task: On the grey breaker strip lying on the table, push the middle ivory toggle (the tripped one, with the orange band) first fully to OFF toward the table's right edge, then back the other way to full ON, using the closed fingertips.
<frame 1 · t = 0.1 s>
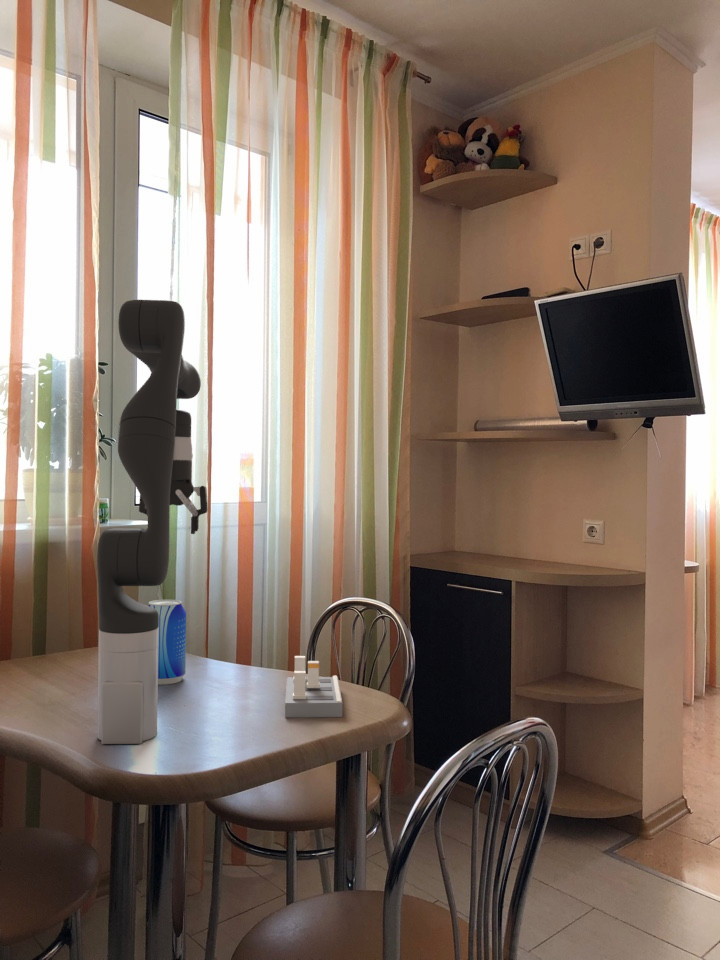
hand: (173, 533, 174), 29 cm above the table, fingers open, 8 cm apart
breaker panel: (312, 702, 150), on the table
breaker toggle: (313, 674, 150), point 5 cm above the table, slide at 2.5 cm
beer can: (164, 681, 165), on the table
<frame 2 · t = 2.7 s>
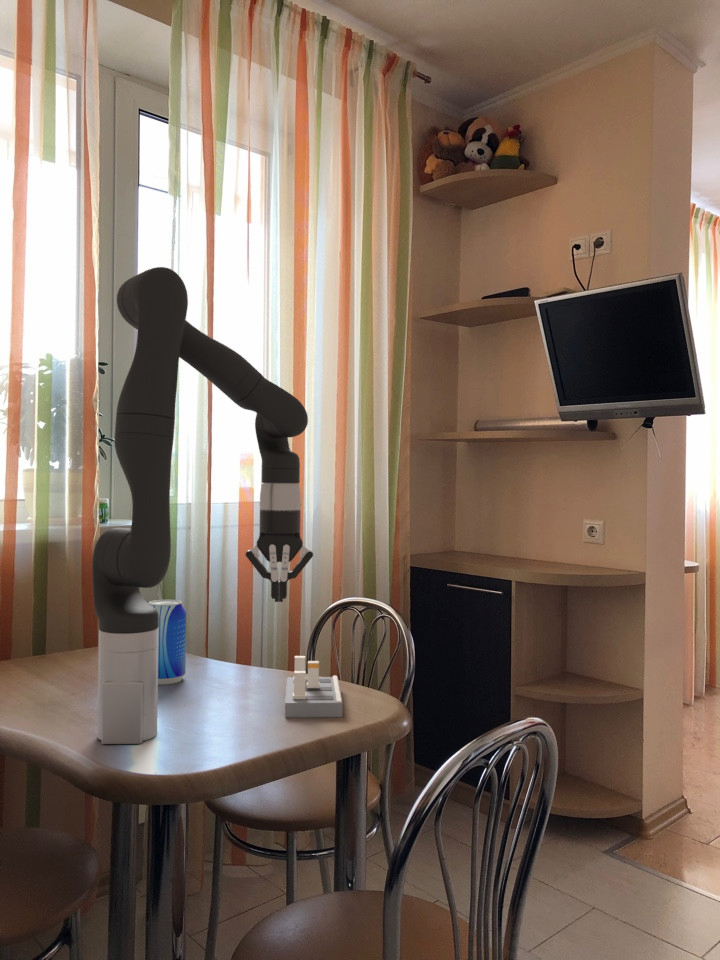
hand: (279, 601, 149), 19 cm above the table, fingers closed
nothing on the table moved.
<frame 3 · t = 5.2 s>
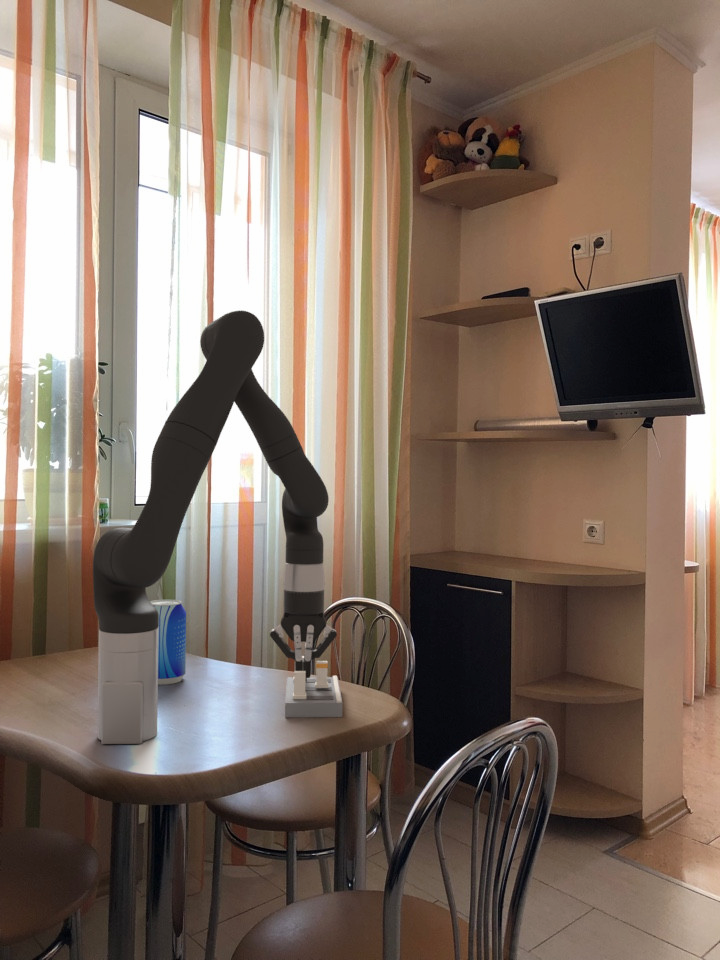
hand: (302, 680, 150), 4 cm above the table, fingers closed
breaker toggle: (321, 674, 150), point 5 cm above the table, slide at 0.9 cm, touching gripper
everything else where it was.
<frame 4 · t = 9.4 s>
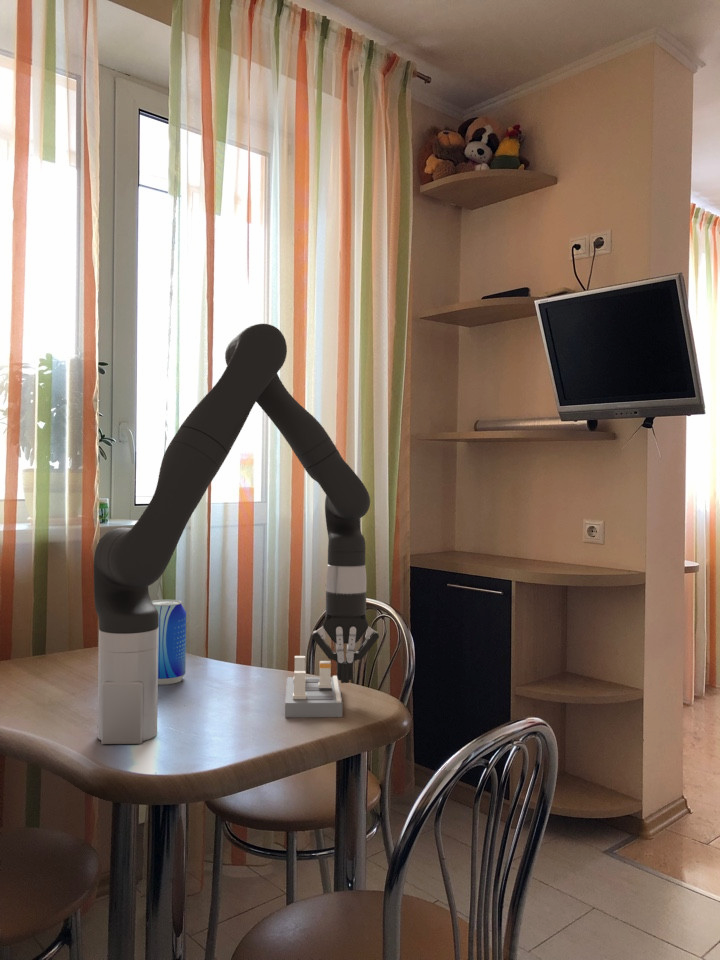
hand: (344, 682, 150), 4 cm above the table, fingers closed
breaker toggle: (325, 674, 150), point 5 cm above the table, slide at 0.3 cm, touching gripper
everything else where it was.
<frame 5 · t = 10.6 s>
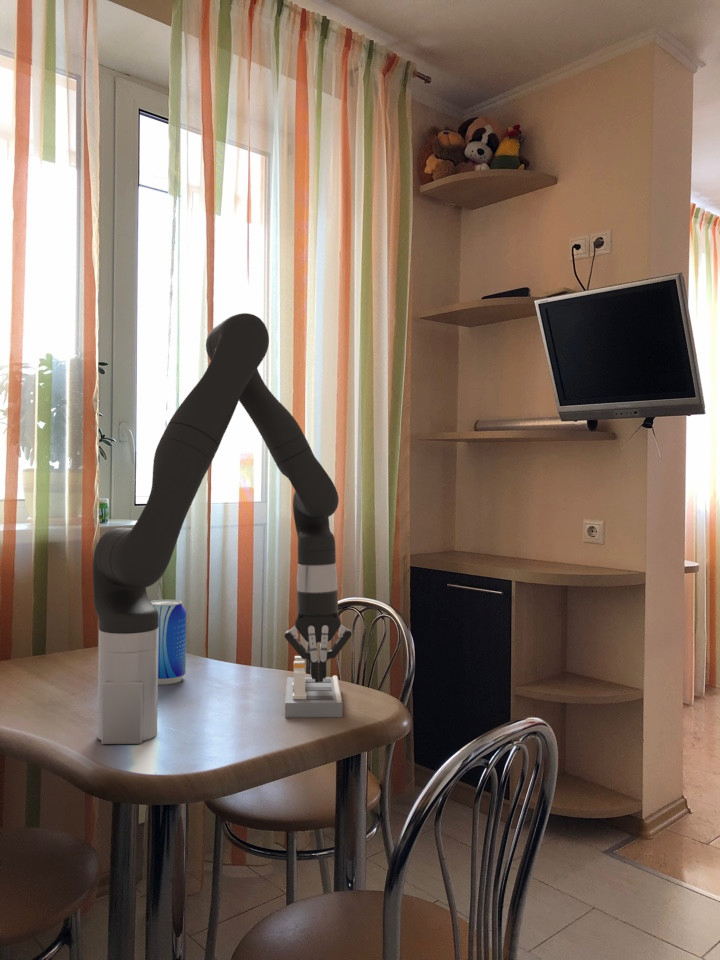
hand: (319, 680, 150), 4 cm above the table, fingers closed
breaker toggle: (299, 674, 150), point 5 cm above the table, slide at 5.1 cm, touching gripper
everything else where it was.
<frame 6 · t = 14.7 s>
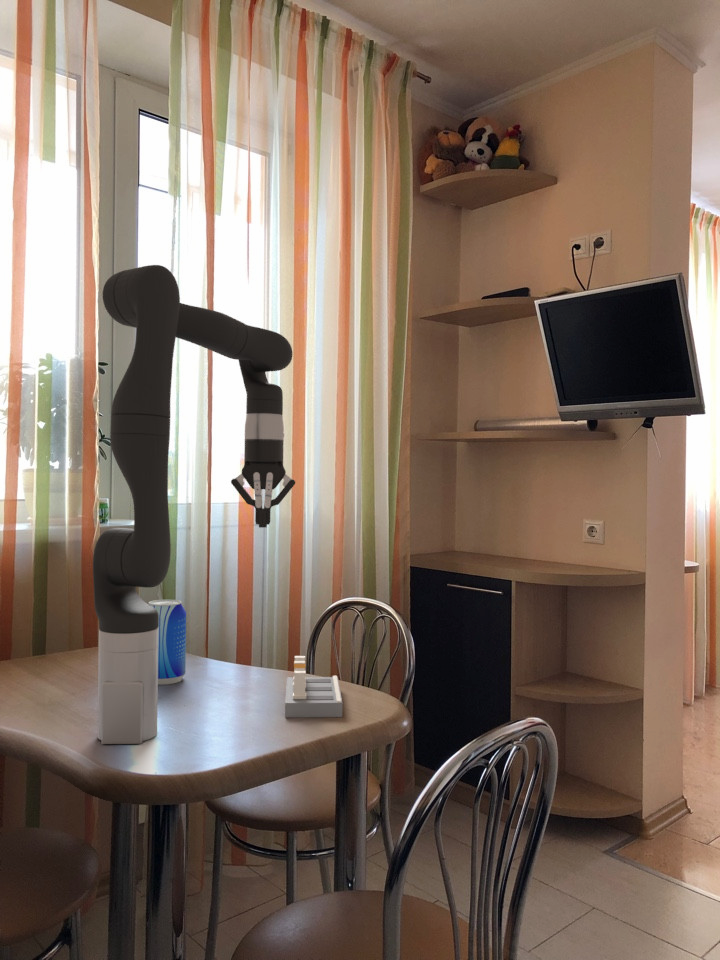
hand: (263, 527, 157), 32 cm above the table, fingers closed
breaker toggle: (299, 674, 150), point 5 cm above the table, slide at 5.0 cm
everything else where it was.
at the end: breaker toggle slide at 5.0 cm; the gripper is holding nothing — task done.
